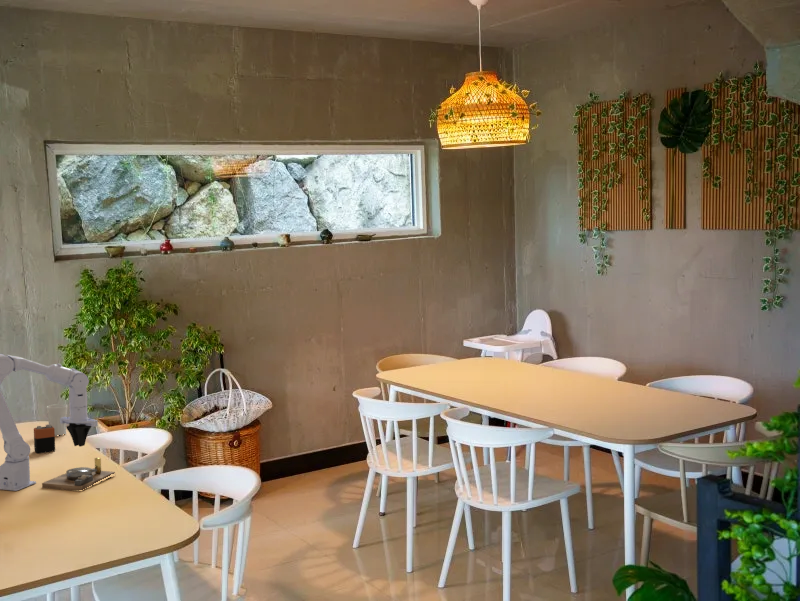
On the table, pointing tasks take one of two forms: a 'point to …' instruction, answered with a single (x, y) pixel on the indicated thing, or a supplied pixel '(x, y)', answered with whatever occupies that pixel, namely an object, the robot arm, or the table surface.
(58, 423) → the cup
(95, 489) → the table surface
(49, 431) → the battery
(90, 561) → the table surface
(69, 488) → the board
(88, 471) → the cam
